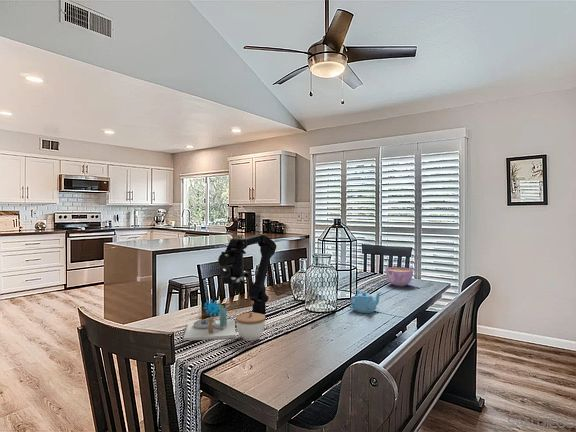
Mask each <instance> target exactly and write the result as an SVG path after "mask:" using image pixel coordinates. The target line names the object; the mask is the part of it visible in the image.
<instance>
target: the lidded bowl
mask: <svg viewBox="0 0 576 432" xmlns="http://www.w3.org/2000/svg"><path fill="white" fill-rule="evenodd" d="M235 326H236V330H237V332H238V333H237V334H238V335H239V336H240V337H241V338H242V339H243V341H248V342H249V341H256V340H259V339H260V337H261V336H262V335H263V333H264V331H265V326H266V316H265V315H264V314H260V313H253V311H249V312H245V313H241V314H238V315H236V317H235Z"/></svg>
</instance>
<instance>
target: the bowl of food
mask: <svg viewBox="0 0 576 432" xmlns="http://www.w3.org/2000/svg"><path fill="white" fill-rule="evenodd" d="M384 271H385V276H386V279H387V282H389V284H391V285H393V286H394V287H405V286H406V285H409V284H410V283H411V281H412V278H413V274H414V269H413V268H411V267H410V268H409V267H402V266H400V267H399V266H395V267H394V266H391V267H389V266H388V267H386V268H384Z"/></svg>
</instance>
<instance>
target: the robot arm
mask: <svg viewBox="0 0 576 432" xmlns="http://www.w3.org/2000/svg"><path fill="white" fill-rule="evenodd" d="M255 244H257V245H258V246H259V248H260V249H259V251H260V255H261V257H260V261H259V265H258V269H257V273H256V276H255V281H254V282H253V283H250V284H249V289H248V296H249V299H250V301H251V302H252V305H251V306H252V307H251V308H252V309H251V310H252V311H251V312H252V313H260V314H263V315H264V314H267V311H266V306H267V304H266V303H268V302H269V298H270V297H269V296H268V295H267V293H266V290H267V289H266V285H265V282H266V277H267V274H268V271H269V265H270V261H271V259H272V257H273V256H274V255H275V252H276V250H277V244H276V241H273V239H271V238H270V237H268V236H267V235H266V234H264V233H257V234H255V235H250V236H246V237H244V238H243V237H242V238H240V237H239V238H238V237H235V238H234V237H233V238H231V239H230V241H229V243H228V244H227V247H226V248H225V250H224V251H221V254H220V255H219V257H218V258H217V260H218V265H220V266H221V267H226V266H229V267H228V269H226V268H222V269H220V270H219V275H220V276H221V277H222V278H221V284H226V285H232V287H233V289H234V293H235V295H236V296H238V295H240V292H241V291H242V290H243V289H242V288H243V287H244V284H245V283H246V281H247V279H252V277H253V274H252V272H251V271H244V268H246V267H245V266H246V265H244V255H246V254H247V252H246V250H245V249H247V248H248V247H249V246H252V245H255ZM244 278H247V279H244Z"/></svg>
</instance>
